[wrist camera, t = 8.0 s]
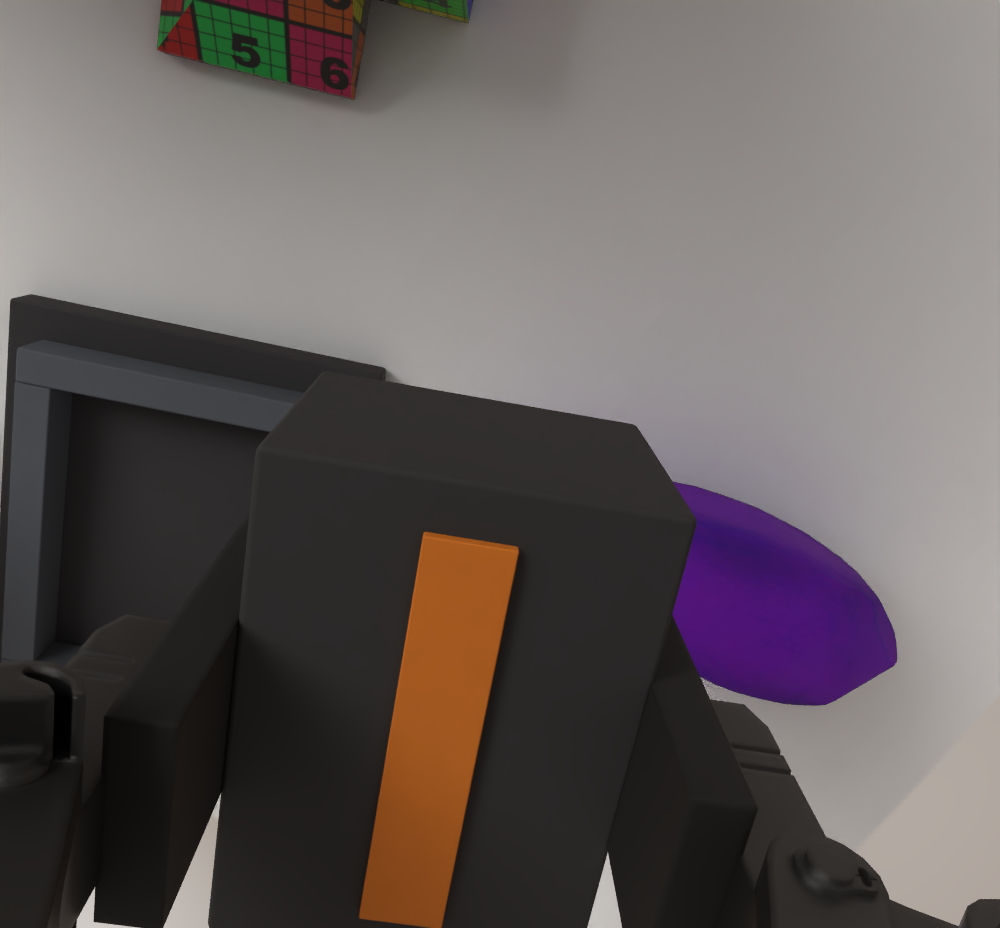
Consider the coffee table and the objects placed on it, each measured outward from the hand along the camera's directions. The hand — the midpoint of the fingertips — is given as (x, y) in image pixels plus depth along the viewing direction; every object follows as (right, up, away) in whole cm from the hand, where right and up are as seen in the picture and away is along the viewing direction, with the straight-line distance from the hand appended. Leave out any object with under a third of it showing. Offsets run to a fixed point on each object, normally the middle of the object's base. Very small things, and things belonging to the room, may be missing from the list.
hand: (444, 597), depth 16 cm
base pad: (-9, 0, +13) cm, 16 cm away
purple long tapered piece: (+7, 0, +14) cm, 15 cm away
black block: (0, 0, 0) cm, 0 cm away
